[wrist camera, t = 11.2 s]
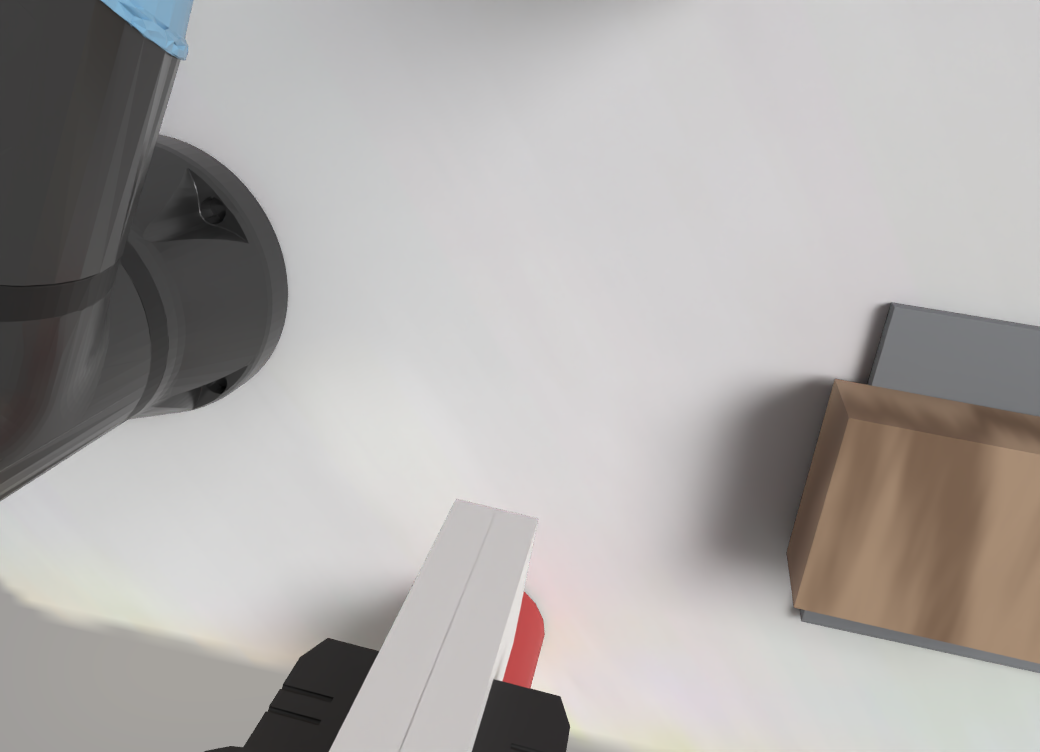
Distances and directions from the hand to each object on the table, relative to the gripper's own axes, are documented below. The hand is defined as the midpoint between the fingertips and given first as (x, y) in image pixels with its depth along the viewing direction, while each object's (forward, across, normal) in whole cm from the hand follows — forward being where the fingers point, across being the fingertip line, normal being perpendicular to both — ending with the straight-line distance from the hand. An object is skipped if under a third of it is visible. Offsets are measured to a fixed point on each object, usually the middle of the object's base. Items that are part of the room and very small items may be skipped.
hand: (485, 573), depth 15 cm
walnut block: (+25, +12, -9) cm, 30 cm away
